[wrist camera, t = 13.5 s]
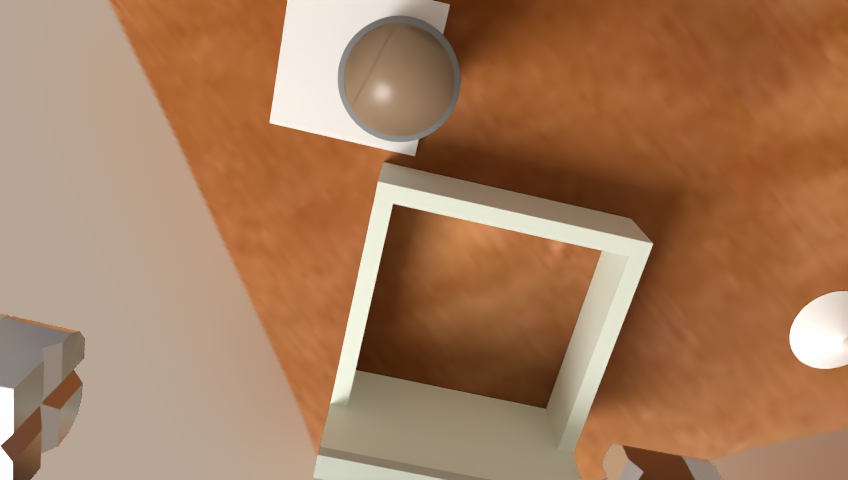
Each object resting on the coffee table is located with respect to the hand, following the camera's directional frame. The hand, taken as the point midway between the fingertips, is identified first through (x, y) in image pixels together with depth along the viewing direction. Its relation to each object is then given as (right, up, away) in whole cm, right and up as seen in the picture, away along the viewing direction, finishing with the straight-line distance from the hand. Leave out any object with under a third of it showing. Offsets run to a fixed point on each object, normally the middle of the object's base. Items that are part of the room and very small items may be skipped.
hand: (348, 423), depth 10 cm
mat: (-3, +14, +33) cm, 36 cm away
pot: (0, +14, +32) cm, 35 cm away
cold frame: (+5, -2, +39) cm, 39 cm away
